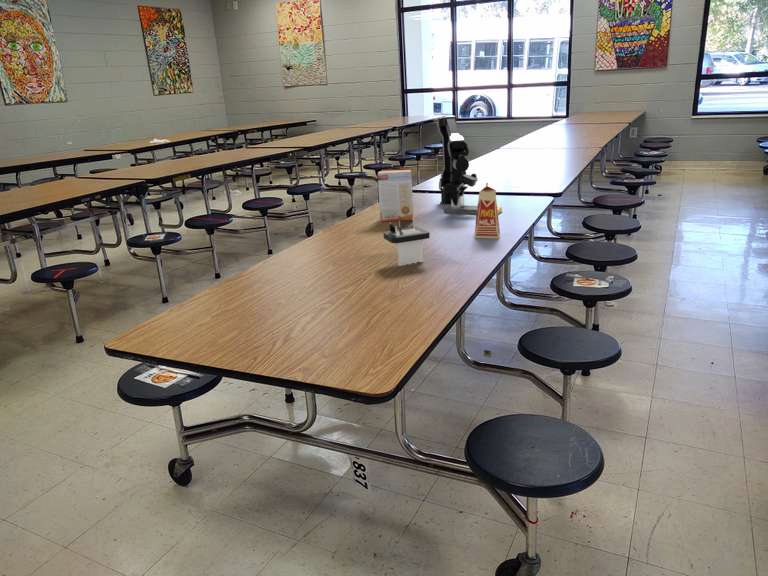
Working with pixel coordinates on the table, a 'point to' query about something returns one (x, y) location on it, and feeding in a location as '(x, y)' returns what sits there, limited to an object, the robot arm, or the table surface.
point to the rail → (465, 209)
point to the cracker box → (395, 195)
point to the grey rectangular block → (460, 202)
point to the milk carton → (487, 215)
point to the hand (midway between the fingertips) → (457, 204)
